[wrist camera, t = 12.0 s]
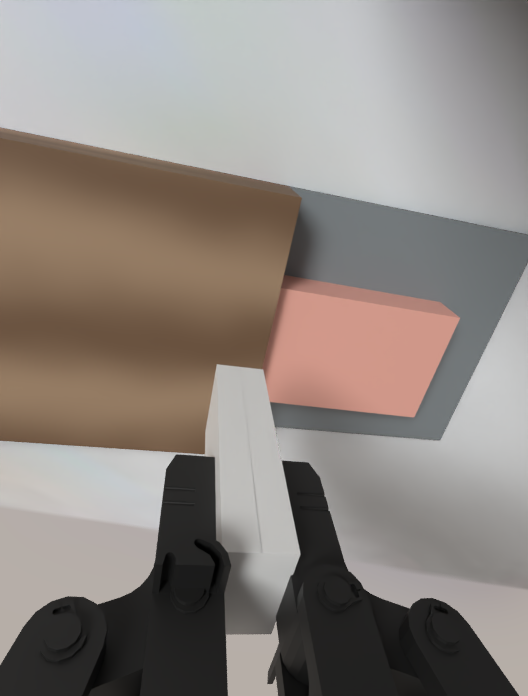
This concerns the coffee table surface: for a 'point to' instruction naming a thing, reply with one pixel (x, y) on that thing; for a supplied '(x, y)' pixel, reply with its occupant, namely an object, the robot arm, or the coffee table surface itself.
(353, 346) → the pink rectangular block
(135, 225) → the brown flat block
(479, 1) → the coffee table surface
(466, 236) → the mat
